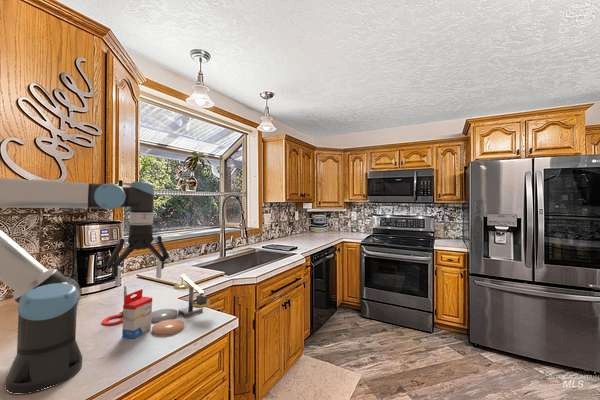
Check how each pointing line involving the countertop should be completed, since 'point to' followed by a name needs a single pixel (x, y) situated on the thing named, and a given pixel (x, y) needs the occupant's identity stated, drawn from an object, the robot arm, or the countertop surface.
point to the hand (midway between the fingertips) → (139, 281)
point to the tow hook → (114, 315)
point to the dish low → (168, 327)
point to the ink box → (136, 314)
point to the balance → (200, 299)
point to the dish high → (163, 315)
